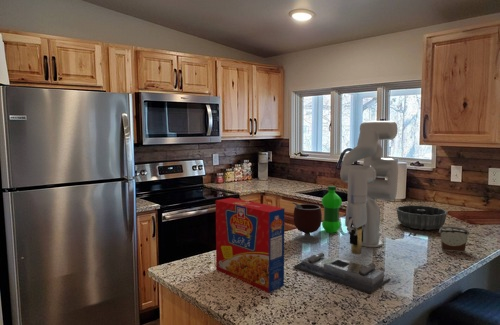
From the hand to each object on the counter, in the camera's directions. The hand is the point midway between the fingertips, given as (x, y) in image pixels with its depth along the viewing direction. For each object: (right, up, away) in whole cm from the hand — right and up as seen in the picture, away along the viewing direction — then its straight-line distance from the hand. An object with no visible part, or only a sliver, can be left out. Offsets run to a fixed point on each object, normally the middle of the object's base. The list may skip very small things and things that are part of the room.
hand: (356, 242), depth 142 cm
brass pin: (0, -4, 0) cm, 4 cm away
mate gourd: (-15, -7, +33) cm, 37 cm away
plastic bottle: (+1, -5, +48) cm, 48 cm away
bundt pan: (+55, -5, +58) cm, 80 cm away
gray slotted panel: (-9, -10, -8) cm, 16 cm away
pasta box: (-44, -11, -11) cm, 47 cm away
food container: (+50, -8, +20) cm, 55 cm away
